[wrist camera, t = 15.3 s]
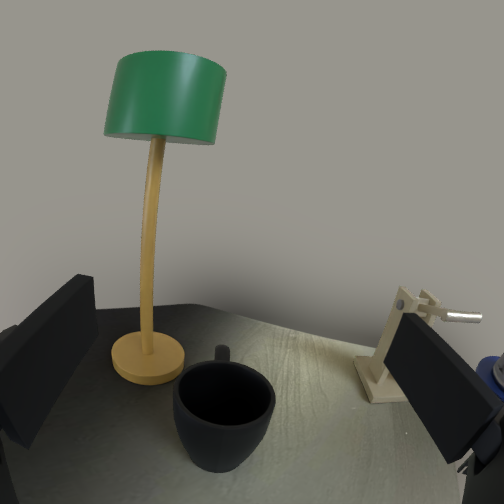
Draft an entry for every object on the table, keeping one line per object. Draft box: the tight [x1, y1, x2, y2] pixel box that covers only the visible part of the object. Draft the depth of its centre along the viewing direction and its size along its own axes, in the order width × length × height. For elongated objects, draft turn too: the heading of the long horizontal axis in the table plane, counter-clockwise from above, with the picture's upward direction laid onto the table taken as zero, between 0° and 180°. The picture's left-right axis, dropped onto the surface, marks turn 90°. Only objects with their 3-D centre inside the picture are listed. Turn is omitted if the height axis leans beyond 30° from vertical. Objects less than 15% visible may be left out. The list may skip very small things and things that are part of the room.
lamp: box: [104, 51, 227, 385], centre depth 31 cm, size 12×12×36 cm
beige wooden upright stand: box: [353, 286, 441, 403], centre depth 36 cm, size 10×8×15 cm
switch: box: [415, 297, 482, 323], centre depth 29 cm, size 12×6×2 cm, turn 178°
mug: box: [173, 345, 276, 473], centre depth 24 cm, size 8×12×10 cm
